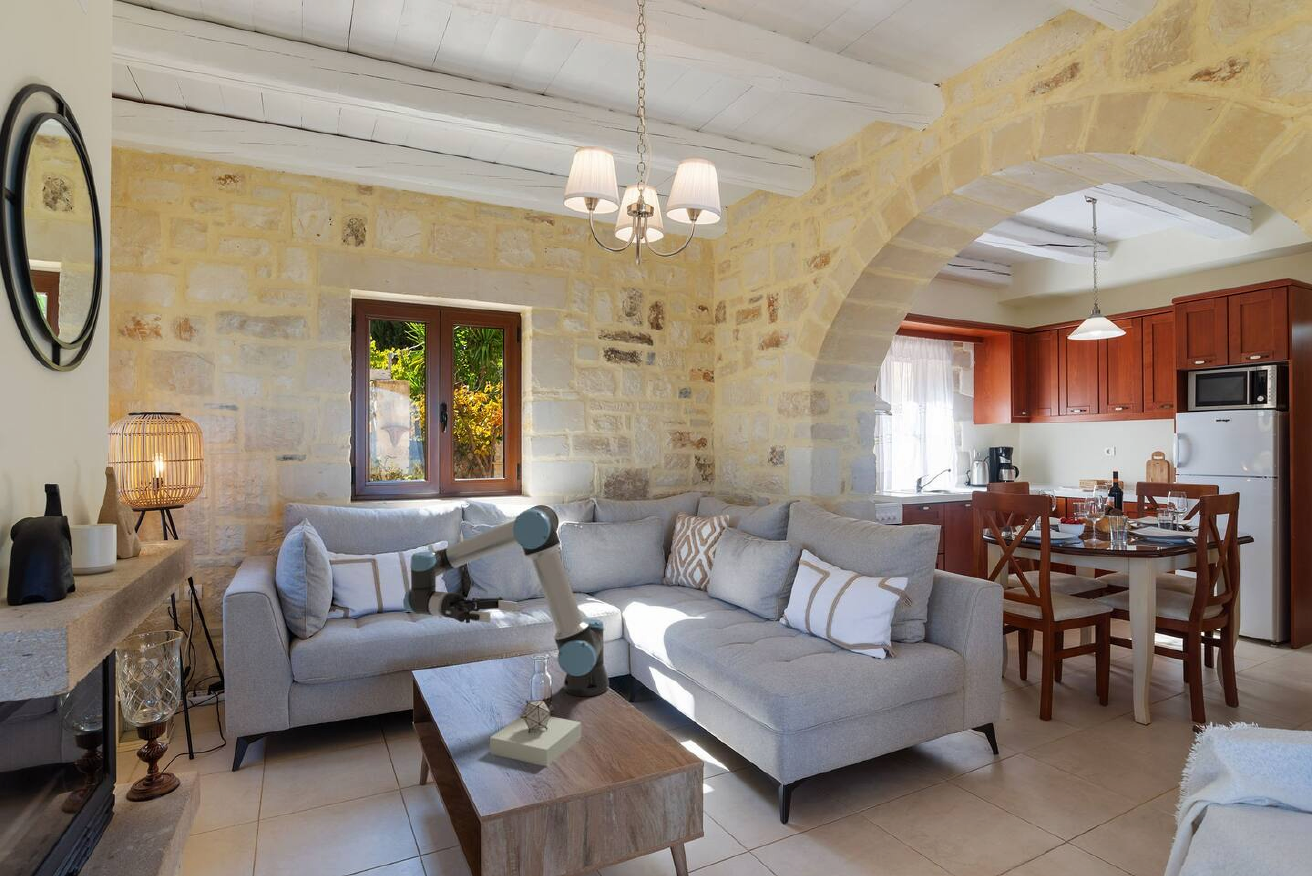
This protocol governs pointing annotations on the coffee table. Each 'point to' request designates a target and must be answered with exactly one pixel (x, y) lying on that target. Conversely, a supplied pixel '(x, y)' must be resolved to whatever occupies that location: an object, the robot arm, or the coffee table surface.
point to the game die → (536, 715)
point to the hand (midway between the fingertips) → (503, 612)
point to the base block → (535, 740)
